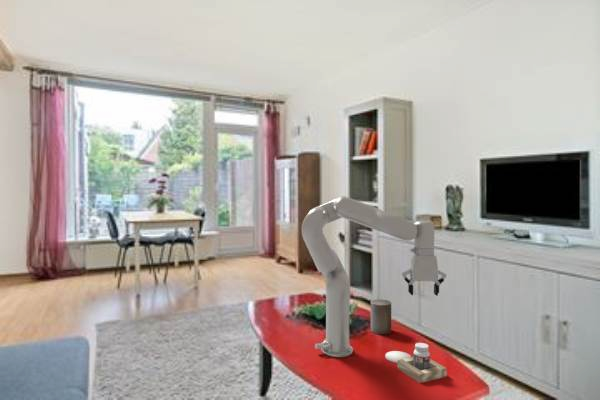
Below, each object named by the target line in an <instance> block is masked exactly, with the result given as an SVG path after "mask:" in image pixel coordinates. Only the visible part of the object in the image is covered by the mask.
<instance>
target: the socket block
mask: <svg viewBox="0 0 600 400" xmlns="http://www.w3.org/2000/svg"><path fill="white" fill-rule="evenodd" d="M396 365H397V366H396V367H397V370H399V371H400V372H401V373H404V374H405V375H407V376H408V377H409V378H411V379H412V380H414V381H416V382H418V383H419V384H421V383H426V382H430V381H434V380H435V381H436V380H438V379H442V378H446V377H447V367H445V366H444V365H441V364H440V363H438V362H436V361H435V360H433V359H431V358H430V368H429V369H425V370H421V371H420V370H419V369H417V368H416V367H414V366H413V356H411V357H410V358H406V359H401V360H398V362H397V363H396Z"/></svg>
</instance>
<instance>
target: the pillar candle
mask: <svg viewBox="0 0 600 400" xmlns="http://www.w3.org/2000/svg"><path fill="white" fill-rule="evenodd" d="M370 331H371V332H372V331H373V332H374V334H377V335H390V334H391V333H392V302H391V300H387V299H382V298H381V299H378V298H377V299H372V300H371V301H370ZM373 332H372V333H373Z"/></svg>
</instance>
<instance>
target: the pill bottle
mask: <svg viewBox="0 0 600 400" xmlns="http://www.w3.org/2000/svg"><path fill="white" fill-rule="evenodd" d="M429 348H430V347H429V345H428V344H427V343H424V342H416V343H415V345H414V350H413V355H412V357H413V366H414V367H416V368H417V369H419V370H420V371H421V370H425V369H429V368H430V359H431V353H430V352H429Z"/></svg>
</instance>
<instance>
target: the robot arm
mask: <svg viewBox="0 0 600 400" xmlns="http://www.w3.org/2000/svg"><path fill="white" fill-rule="evenodd" d="M340 219H345V220H348V221H351V222H354V223H355V224H359V225H362V226H364V227H366V228H369V229H371V230H375V231H377V232H381V233H384V234H387V235H389V236H392V237H394V238H398V239H400V240H402V241H407V242H408V241H412V240H414V244H413V245H414V247H413V248H410V253H413V254H412V256H411V262H410V268H409V269H407V270H406V271H405V270H404V272H403V271H402V272H401V276H402V278H403V280H404V281H405V282H406V283H407V285H408V287H407V288H408V289H407V290H408V292H407V293H409V294H410V295H411V296H413V295H414V285H413V284H414V282H434V283H433V294H434V295H435V296H439V293H440V286H441V284H442V283H444V281H445V279H446V277H447V273H445V272H443V271H441V270H440V269H439V266H438V258H437V255H435V223H434V222H433V221H431V220H410V219H404V218H401V217H397V216H395V215H393V214H390V213H388V212H386V211H384V210H382V209H379V208H378V207H376V206H373V205H370V204H367V203H365V202H364V203H363V202H361V201H359V200H356V199H354V198H351V197H347V196H339V197H337V198H335V199H332V200H331V201H328V202H326V203H323V204H321V205H318V206H316V207H315V206H314V207H313V208H312V209H310V210H309V212H308V213H307V214H306V216H305V217H304V219H303V221H302V224H301V236H302V238H303V241H304V243H305V245H306V248H307V249H308V252H309V255H310V256H311V258H312V260H313V263H314V265H315V267H316V269H317V270H318V271H319V272H320V273H321V274H322V275H323V278H324V279H325V283H326V285H325V338H324V339H323V341H322V342H321V343H315V344H314V347H315V349H316V350H318V349H320V350H321V351H322V352H323V354H325V355H326V356H329V357H333V358H345V357H348V356H350V355H353V352H354V347H352V346H351V345H350V303H351V302H350V298H351V282H350V278H349V276H348V273H347V272H346V269H345V267H344V266H343V264H342V261H341V259H340V257H339V256H338V254H337V252H336V251H335V250H334V249H332V248H331V246H330V245H329V242H328V241H327V238H326V236H325V235H324V233H323V231H324V230H323V229H324V227H325V226H326V225H327V224H329V223H332V222H335V221H337V220H340ZM407 275H410V278H409V279H408V277H407ZM439 276H440V278H439Z"/></svg>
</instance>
